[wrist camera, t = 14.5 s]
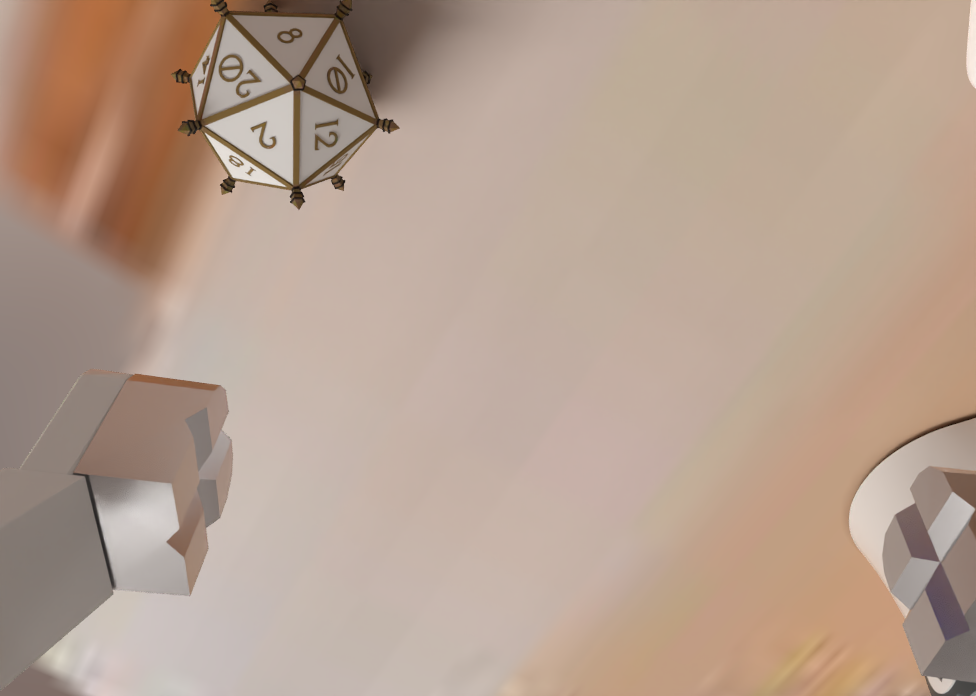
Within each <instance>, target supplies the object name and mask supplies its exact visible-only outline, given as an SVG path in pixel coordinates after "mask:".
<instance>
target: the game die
mask: <svg viewBox="0 0 976 696" xmlns="http://www.w3.org/2000/svg"><path fill="white" fill-rule="evenodd" d="M210 6H213V7H214V9H215V10H214V11H215V12H218V13H219V14H220V15H221V19H220V20H219V22H218V24H217V26H216V28H215V30H214V32H213V34H212V36H211V38H210V39H209V41H208V43H207V45H206V47H205V49H204V51H203V53H202V55H201V57H200V58H199V60H198V62H197V64H196V66H195V68H194V70H193V72H192V74H188V73H187V71H182V70H181V69H179V70H178V71H176V72H174V73H172V74H171V75H172V76H173V77H174V79H175V80H176V82H182V83H187V82H189V83H190V88H191V94H192V100H193V106H194V112H195V118H196V121H194V120H188V122H187V121H182V125H181V126H180V128H179V129H178V131H180V132H182V133H185V134H187V135H188V136H190V134H192V133H193V134H195V133H196V131H197V130H200V132H201V134H202V135H203V137H204V138H205V140H206V141H207V143H208V144H209V146H210V147H211V149H212V151H213V152H214V154H215V155H216V157H217V158H218V160H219V161H220V163H221V165H222V166H223V168H224V169H225V171H226V172H227V174H228V175H229V176H228V178H227V179H225V180H223V183H222V184H220V186H221V192H222V195H223V194H226V193H229V192H231V193H232V189H233V188H235V185H234V184H235V182H236V181H240V182H245V183H251V184H257V185H263V186H269V187H274V188H280V189H286V190H292V194H291V195H290V198H291V201H290V203H293V204H294V205H295V206H296V207H297V208H298V209H300V208H301V206H302V204H303V203H304V202H305V201H304V199H303V197H304V195H303V193H302V192H301V189H303V188H306V187H309V186H311V185H314V184H317V183H319V182H322V181H325V180H328V179H330V178H331V179H332V180H331V182H332V184H333V185H334V187H335V189H340V190H343V191H344V183H345V180H343V179H342V177H341V176H339V175H338V173H339V171H340V170H341V169H342V168H343V167H344V166H345V165H346V163H347V162H348V161H349V160H350V159H351V158H352V156H353V155H354V154H355V153H356V152H357V151H358V149H359V148H360V147H361V146H362V145H363V144H364V143H365V141H366V140H367V139H368V138H369V137H370V136H371V134H372V133H373V132H374V131H375V130H376V129H377V128H380V129H382V130H383V132H385V131H387V132H388V133H389V134H390V132H392V131H394V130H397V129H399V127H398V126H397V125H396V124H395V123H394V122H393V120H388V119H384V120H381V119H379V117H378V114H377V111H376V109H375V106H374V103H373V101H372V98H371V95H370V93H369V90H368V87H367V85H366V83H367V84H369V83H370V79H371V78H372V75H370V74H368V73H367V72H366V71H364V72H363V73H362V71H361V68H360V66H359V63H358V60H357V58H356V55H355V52H354V50H353V47H352V44H351V42H350V39H349V36H348V34H347V31H346V28H345V26H344V23H343V18H344V17H345V16H348V15H349V14H348V13H349V12H350V11H352V9H351V8H352V0H344V1H340V5H339V6H337V12H336V13H335V14H310V13H277V12H278V11H277V10H276V9H277V6H276V5H274V4H273V3H272V2H271V1H270V0H269V1H268V2H267V4H266V5H264V9H265V12H244V11H228V9H227V4H226V2H224V0H211V5H210Z"/></svg>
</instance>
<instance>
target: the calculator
mask: <svg viewBox="0 0 976 696" xmlns="http://www.w3.org/2000/svg"><path fill="white" fill-rule="evenodd" d="M967 73H968V77H969V80H970V81H971V83H972V85H973V86H974V87H975V88H976V0H971V9H970V20H969V32H968V44H967Z"/></svg>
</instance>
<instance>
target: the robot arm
mask: <svg viewBox="0 0 976 696" xmlns="http://www.w3.org/2000/svg"><path fill="white" fill-rule="evenodd" d="M228 412H229V410H228V403H227V396H226V390H225V389H224V388H223V387H222V386H220V385H214V384H206V383H199V382H192V381H184V380H177V379H170V378H163V377H155V376H148V375H141V374H135V375H132V374H126V373H119V372H112V371H105V370H97V369H90V370H88V371H87V372H85V373H83V374H82V375H81V376H80V377H79V378H78V380H77V381H76V383H75V384H74V386H73V387H72V389H71V390H70V392H69V393H68V395H67V396H66V398H65V399H64V401H63V403H62V404H61V405H60V407H59V409H58V410H57V412H56V413H55V415H54V416H53V418H52V420H51V421H50V422H49V424H48V425H47V427H46V428H45V430H44V432H43V433H42V435H41V436H40V438H39V439H38V441H37V442H36V444H35V445H34V447H33V448H32V450H31V451H30V453H29V454H28V456H27V458H26V459H25V461H24V462H23V464H22V465H21V467H20V469H15V468H4V469H2V470H0V691H1V690H2V689H3V688H5V687H6V686H7V685H8V684H9V683H11V682H12V681H13V680H14V679H15V678H16V677H18V676H19V675H20V674H21V673H22V672H23V671H25V669H27V668H28V667H29V666H30V665H32V664H33V663H34V662H35V661H36V660H37V659H39V658H40V657H41V656H42V655H43V654H44V653H46V652H47V651H48V650H49V649H50V648H51V647H52V646H54V645H55V644H56V643H57V642H58V641H59V640H61V639H62V638H63V637H64V636H65V635H66V634H68V633H69V632H70V631H71V630H72V629H73V628H75V627H76V626H77V625H78V624H79V623H80V622H82V621H83V620H84V619H85V618H86V617H87V616H89V615H90V614H91V613H92V612H93V611H94V610H96V609H97V608H98V607H99V606H100V605H101V604H103V603H104V602H105V601H106V600H107V599H108V598H110V597H111V596H112V595H113V590H123V591H135V592H148V593H160V594H172V595H184V596H190V595H191V592H192V590H193V587H194V585H195V582H196V579H197V577H198V574H199V572H200V569H201V567H202V564H203V561H204V559H205V556H206V554H207V551H208V541H207V533H206V528H207V527H208V526H209V525H211V524H212V523H214V522H215V521H216V520H218V519H219V518H220V517H221V514H222V511H223V508H224V505H225V503H226V500H227V496H228V491H229V486H230V481H231V476H232V462H233V452H232V440H231V439H230V438H229V437H228V436H227V435H226V433H225V432H224V431H223V430H222V427H223V424H224V422H225V419H226V417H227V415H228ZM849 528H850V533H851V536H852V539H853V541H854V543H855V545H856V546H857V548H858V549H859V550H860V551H861V553H862V554H863V555H864V556H865V558H866V559H867V560H868V561H869V563H870V564H871V565H872V567H873V568H874V569H875V571H876V572H877V573H878V575H879V576H880V578H881V579H882V581H883V582H884V584H885V585H886V587H887V588H888V590H889V592H890V593H891V595H892V597H893V598H894V600H895V602H896V603H897V605H898V607H899V609H900V610H901V612H902V614H903V616H904V618H905V621H904V623H903V627H904V630H905V633H906V635H907V638H908V641H909V644H910V646H911V649H912V652H913V654H914V657H915V660H916V662H917V665H918V668H919V670H920V673H921V675H922V676H925V678H926V682H927V685H928V687H929V690H930V693H931V695H932V696H976V418H974V419H971V420H967V421H964V422H961V423H957V424H954V425H951V426H947V427H945V428H942V429H939V430H936V431H934V432H931V433H929V434H927V435H924V436H922V437H920V438H918V439H916V440H914V441H912V442H910V443H909V444H907V445H905V446H904V447H902V448H900V449H899V450H897V451H896V452H894V453H893V454H892V455H890V456H889V457H888V458H886V459H885V460H884V461H883V462H881V463H880V464H879V465H878V466H877V467H876V468H875V469H874V470H873V471H872V472H871V473H870V474H869V475H868V477H867V478H866V479H865V480H864V482H863V483H862V485H861V486H860V487H859V489H858V491H857V493H856V495H855V497H854V499H853V502H852V505H851V508H850V514H849Z"/></svg>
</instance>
